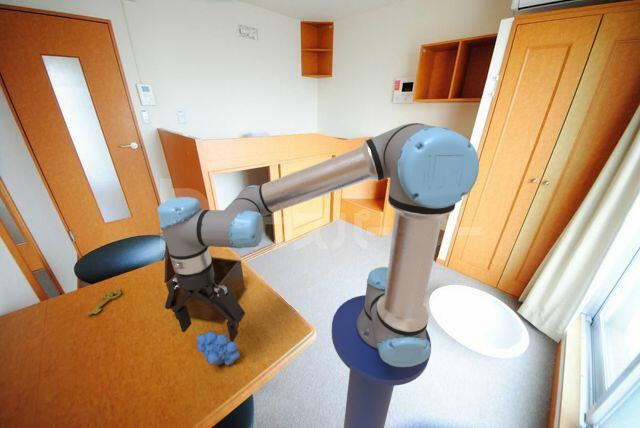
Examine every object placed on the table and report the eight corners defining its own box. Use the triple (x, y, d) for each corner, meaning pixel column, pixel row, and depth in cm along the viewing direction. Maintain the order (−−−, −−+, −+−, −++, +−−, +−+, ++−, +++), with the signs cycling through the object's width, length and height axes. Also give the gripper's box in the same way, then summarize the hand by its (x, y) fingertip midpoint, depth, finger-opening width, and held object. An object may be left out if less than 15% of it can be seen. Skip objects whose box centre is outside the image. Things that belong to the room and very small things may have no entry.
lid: (203, 214, 83) (201, 213, 83) (168, 238, 68) (165, 237, 68) (199, 254, 92) (197, 253, 92) (166, 283, 77) (164, 282, 77)
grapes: (193, 376, 64) (183, 346, 59) (206, 352, 70) (197, 323, 65) (234, 380, 64) (228, 350, 58) (244, 356, 70) (238, 327, 65)
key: (95, 313, 81) (81, 312, 82) (96, 316, 82) (83, 314, 82) (124, 289, 92) (112, 288, 92) (125, 291, 92) (113, 291, 93)
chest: (245, 288, 95) (240, 260, 89) (222, 323, 80) (215, 291, 74) (205, 282, 98) (198, 255, 92) (176, 314, 83) (165, 283, 77)
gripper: (130, 268, 51) (156, 336, 60) (237, 285, 47) (248, 355, 56) (158, 249, 58) (178, 313, 67) (253, 263, 54) (261, 328, 63)
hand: (210, 332), depth 62 cm, fingers open, 13 cm apart
